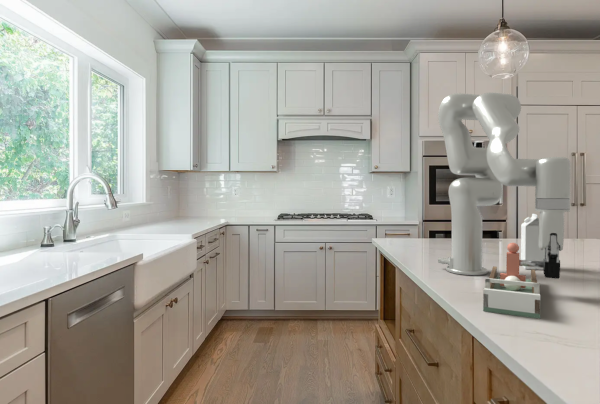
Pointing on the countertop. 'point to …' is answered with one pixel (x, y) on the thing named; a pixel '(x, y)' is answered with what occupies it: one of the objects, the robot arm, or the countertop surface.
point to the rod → (518, 264)
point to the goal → (511, 296)
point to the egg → (512, 287)
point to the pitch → (526, 290)
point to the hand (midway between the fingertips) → (551, 275)
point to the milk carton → (531, 241)
